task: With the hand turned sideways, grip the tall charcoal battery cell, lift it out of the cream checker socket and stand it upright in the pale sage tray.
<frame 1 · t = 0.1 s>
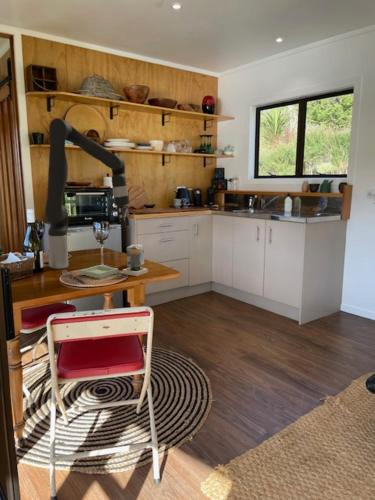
hand: (125, 226, 195), 22 cm above the table, tool pointing down, fingers open, 8 cm apart
battery cell: (135, 259, 189), in the checker socket
light bulb box: (135, 265, 208), on the table
checker socket: (135, 273, 191), on the table
sage tray: (99, 274, 187), on the table
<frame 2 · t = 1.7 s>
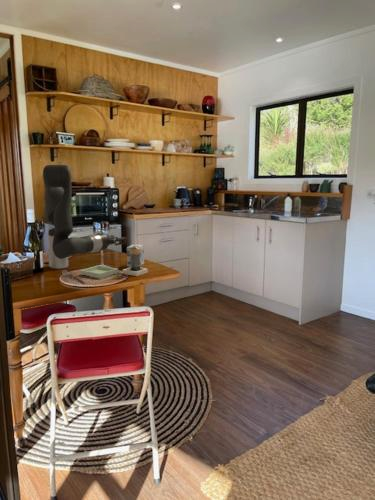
hand: (120, 238, 178), 19 cm above the table, tool horizontal, fingers open, 8 cm apart
nothing on the table moved.
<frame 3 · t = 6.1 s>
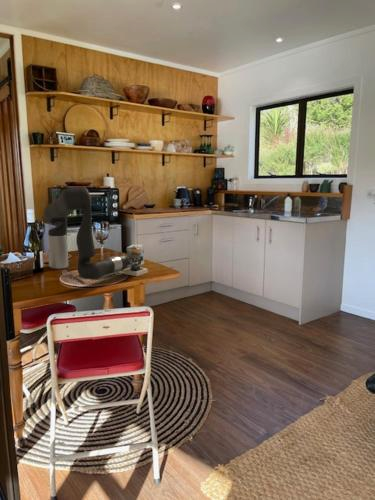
hand: (138, 257, 191), 8 cm above the table, tool horizontal, fingers closed on battery cell, 4 cm apart
battery cell: (135, 259, 189), in the checker socket, touching gripper
everything else where it was.
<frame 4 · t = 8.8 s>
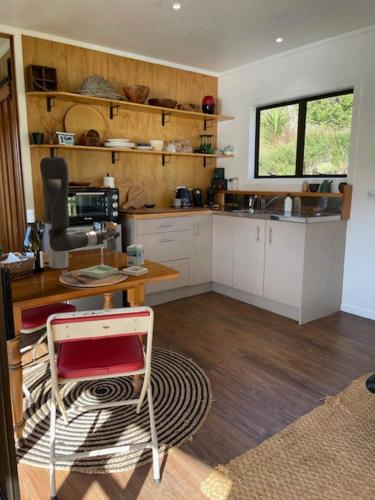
hand: (114, 233, 187), 20 cm above the table, tool horizontal, fingers closed on battery cell, 4 cm apart
battery cell: (111, 235, 185), point 19 cm above the table, touching gripper
everything else where it was.
when the fingers open (10 cm above the table, at t = 11.7 s): battery cell drops 1 cm, resting on sage tray.
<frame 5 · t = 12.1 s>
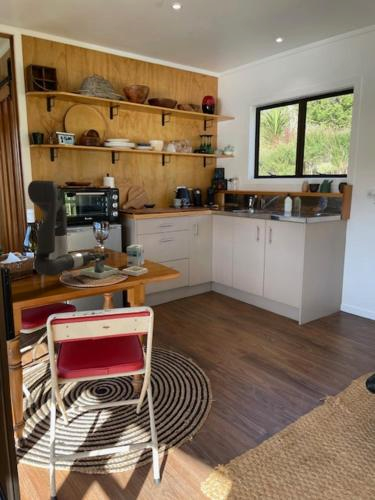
hand: (101, 254, 187), 10 cm above the table, tool horizontal, fingers open, 8 cm apart
battery cell: (99, 259, 185), in the sage tray, point 8 cm above the table
everything else where it was.
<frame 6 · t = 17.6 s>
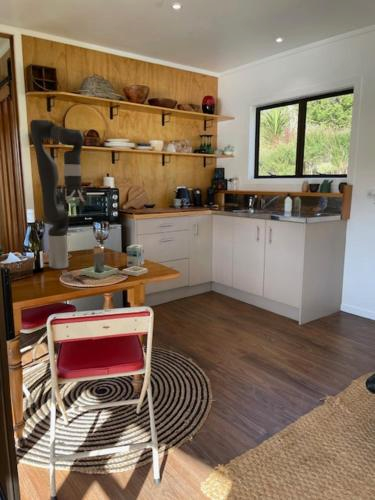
hand: (74, 210, 174), 32 cm above the table, tool pointing down, fingers open, 8 cm apart
nothing on the table moved.
at the end: battery cell inside the target area on the sage tray (0.1 cm from its centre), point 7.7 cm above the sage tray's base; battery cell tilted 0°; the gripper is holding nothing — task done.
